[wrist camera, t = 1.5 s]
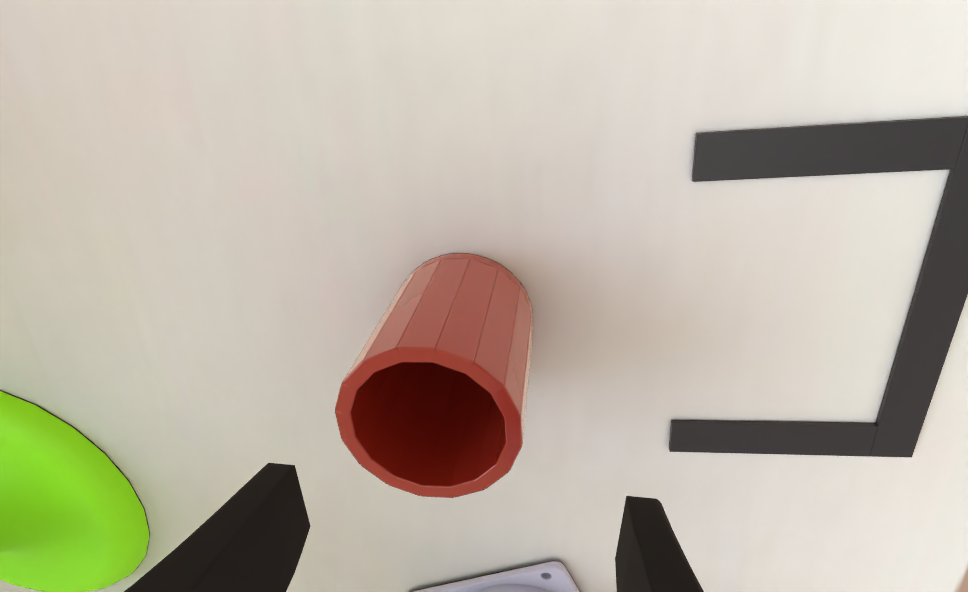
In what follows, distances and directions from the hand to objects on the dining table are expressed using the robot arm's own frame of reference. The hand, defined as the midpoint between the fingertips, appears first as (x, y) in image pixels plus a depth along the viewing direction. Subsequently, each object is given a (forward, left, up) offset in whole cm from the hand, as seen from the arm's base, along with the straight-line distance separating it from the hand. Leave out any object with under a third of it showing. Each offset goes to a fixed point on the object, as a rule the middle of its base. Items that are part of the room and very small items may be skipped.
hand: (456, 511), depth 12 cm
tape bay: (+10, -5, -11) cm, 16 cm away
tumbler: (-2, 0, -11) cm, 11 cm away
